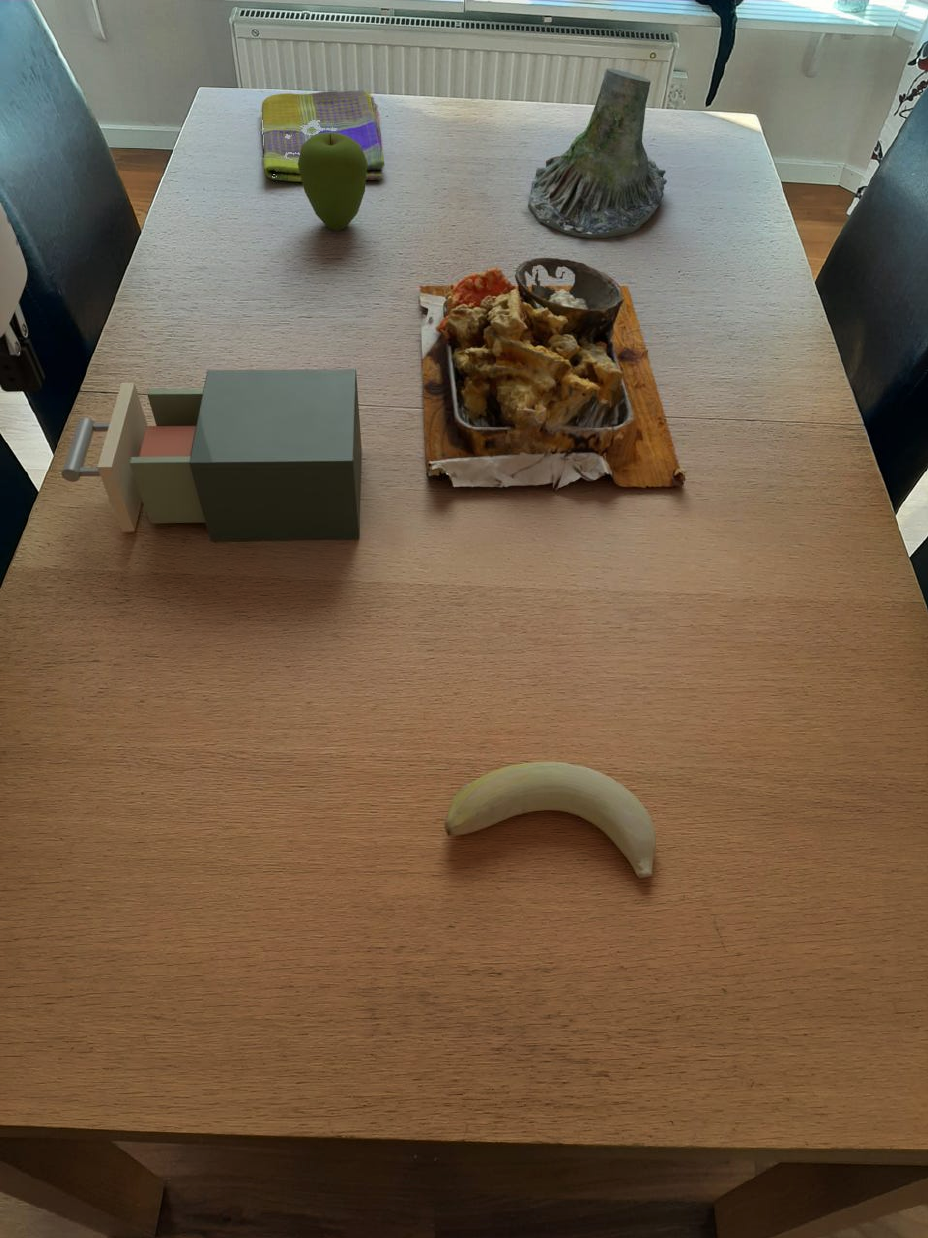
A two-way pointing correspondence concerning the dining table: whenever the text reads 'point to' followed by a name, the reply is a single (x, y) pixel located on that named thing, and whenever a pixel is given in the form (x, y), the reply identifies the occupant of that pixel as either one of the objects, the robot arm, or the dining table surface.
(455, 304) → the food tray
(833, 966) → the dining table surface
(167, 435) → the block
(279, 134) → the dish towel
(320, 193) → the apple
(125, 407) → the drawer
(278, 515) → the cabinet
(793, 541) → the dining table surface
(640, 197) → the tree stump
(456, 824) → the fruit
